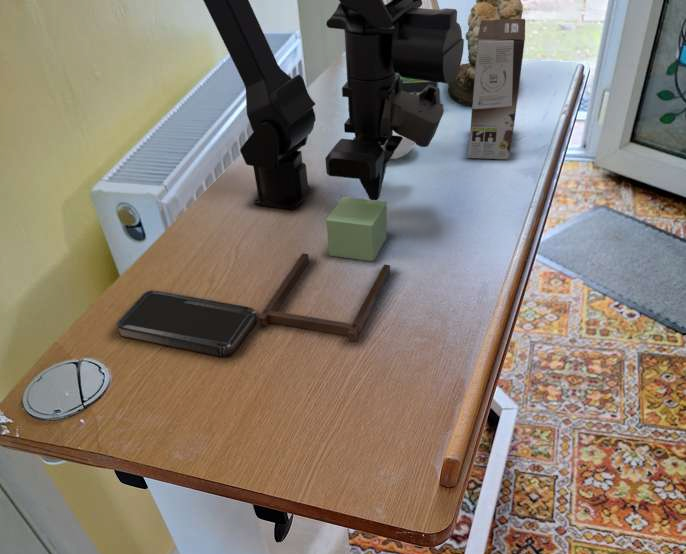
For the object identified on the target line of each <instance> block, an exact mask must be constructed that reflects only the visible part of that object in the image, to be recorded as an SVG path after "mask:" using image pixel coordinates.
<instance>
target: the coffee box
mask: <svg viewBox="0 0 686 554" xmlns="http://www.w3.org/2000/svg"><path fill="white" fill-rule="evenodd" d="M525 41H526V18H521V19H498V20H481V23H480V28H479V34H478V41H477V53H476V64H475V77H474V90H473V103H472V106H471V116H470V117H471V119H470V130H469V143H468V155H467V157H468V159H486V160H509V159H510V154H511V148H512V142H513V136H514V135H513V134H514V127H515V121H516V115H517V114H516V113H517V107H518V98H519V91H520V81H521V74H522V66H523V59H524V58H523V57H524V49H525Z"/></svg>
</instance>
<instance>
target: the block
mask: <svg viewBox="0 0 686 554" xmlns="http://www.w3.org/2000/svg"><path fill="white" fill-rule="evenodd" d="M387 204H388V203H387V201H386V200H371V199H366V198H357V197H347V196H341V198H340V199H339V201H337V203H336V205H335V206H334V208H333V210H332V211H331V213H330V214H329V215H328V217H326V221H325V222H326V231H327V242H328V253H329V254H328V255H329V256H331V257H337V258H345V259H353V260H360V261H366V262H367V261H368V262H374V261H375V259H376V258H377V256H378V254H379V253H380V250H382V248H383V245H384V243H385V241H386V240H387V238H388V213H387V212H388V211H387V209H388V207H387V206H388V205H387Z"/></svg>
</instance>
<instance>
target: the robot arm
mask: <svg viewBox="0 0 686 554" xmlns="http://www.w3.org/2000/svg"><path fill="white" fill-rule="evenodd" d="M202 1H203V4H204V5H205V7H206V9H207V11H208V13H209V15H210V18H211V19H212V22H213V24H214V25H215V27H216V30H217V31H218V34H219V35H220V37H221V39H222V42H223V43H224V46H225V48H226V50H227V52H228V54H229V56H230V58H231V60H232V62H233V65H234V66H235V68H236V71H237V72H238V74H239V77H240V78H241V81H242V83H243V85H244V88H245V103H246V104H245V105H246V106H245V107H246V116H247V119H248V122H249V124H250V127H251V131H252V133H251V135H249V137H248V138H247V139H246V140H245V142H244V144H243V145H242V146H241V147H240V149H239V151H240V154H241V156H242V158H243V161H244V163H245V164H246V166H251V167H252V168H253V174H254V178H255V179H254V180H255V185H256V191H257V196H256V197H255V198H254V199H253V205H254V206H261V207H270V208H278V209H279V208H280V209H286V210H295V209H296V208H298V206H299V204H300V203H301V202H302V200H303V199H304V198H305V197H306V195H307V194H308V193H309V192H310V190H311V186H310V184H309V181H308V172H307V171H308V170H307V165H306V162H303V155H302V151H301V150H300V149H301V148H302V147H304V146H306V145H307V142H308V137H309V136H310V135H311V133H312V132H313V130H314V127H315V123H316V120H317V119H316V113H315V110H314V107H315V106H316V102H315V101H314V100H313V98H312V97H311V95H310V94H309V92H308V89H307V87H306V84H305V83H306V82H305V80H304V78H303V76H302V75H301V74H299V73H298V74H297V75H296V76H294V77H291V76H290V75H289V74H287V73H286V72H285V71H284V70H283V69H281V67H280V65H279V64H278V61H277V60H276V57H275V55H274V53H273V51H272V49H271V46H270V44H269V41H268V39H267V38H266V35H265V34H264V31H263V29H262V27H261V24H260V23H259V20H258V18H257V16H256V13H255V11H254V9H253V7H252V5H251V3H250V1H249V0H202ZM338 2H339V3H338V5H337V7H336V8H335V11H334V13H332V15H331V16H330V17H329V18H328V19H327V20H326V23H325V24H326V27H327V28H328V29H334V30H335V29H336V30H343V31H344V48H345V65H346V82H345V83H344V84H343V86H342V87H341V95H342V98H347V102H348V103H347V105H348V118H347V120H345V122H343V127H344V128H343V129H344V130H343V131H344V133H346V134H347V133H348V134H354V137H353V138H350V139H349V138H340V139H339V140H338V142H337V143H335V145H334V146H333V147H332V149H331V150H330V151H329V152H328V154H327V155H326V157H325V158H324V161H325V169H326V170H325V171H326V174H327V175H328V176H329V177H337V178H344V179H345V178H346V179H356V180H359V182H360V184H361V186H362V188H363V190H364V191H365V193H366V194H367V196H368V199H369V200H376V201H379V199H380V196H381V192H382V188H383V183H384V179H385V175H386V170H387V166H388V163H389V162H390V160H391V159H390V158H391V157H392V155H393V154H394V150H395V149H396V148H397V147H398V146H399V144H400V142H401V141H402V139H403V137H405V138H407V139H409V140H412V141H414V142H415V145H416V146H419V147H421V148H428V147H429V146H430V144H431V142H432V140H433V138H434V137H435V135H436V132H437V130H438V127H439V125H440V122H441V120H442V117H443V115H444V113H445V110H444V106H445V105H444V104H442V103H441V95H440V94H441V93H440V89H439V88H438V87H437V88H436V87H434V86H432V85H428V86H427V87H426V88H424V89H423V90H422V91H421V92H420V93H419V95H418V96H417V95H416V94H417V92H415V91H414V92H413V93H412V94H410V93H408V92H405V91H403V80H402V79H400V76H401V77H403V78H409V79H416V80H424V81H431V82H438V84H439V83H440V84H445V85H447V84H450V83H452V82H453V81H454V79H455V78H456V75H457V73H458V71H459V68H460V65H462V60H463V56H464V55H463V54H464V45H465V44H464V43H465V39H464V38H463V33H462V32H463V31H462V27H461V25H460V23H459V22H458V11H457V9H456V8H441V9H440V10H434V9H423V8H419V7H421V5H422V0H392V1H391V2H389V3H388V4H386V5H385V4H384V2H383V1H382V0H338ZM396 73H399V75H396ZM393 130H394V132H395V133H397V134H399V135H401V136H403V137H401V136H394V135H393Z"/></svg>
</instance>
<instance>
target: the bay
mask: <svg viewBox="0 0 686 554" xmlns="http://www.w3.org/2000/svg"><path fill="white" fill-rule="evenodd" d="M309 259H310V258H309V254H308V253H305V252H304V253H301V255H300V256H299V258H298V259H297V261H296V262H295V264H294V265H293V266H292V268H291V269H290V270H289V272H288V274H287V276H286V277H285V278H284V280H283V281H282V283H280V286H279V287H278V288H277V290H276V291H275V293H273V296H272V297H271V299H270V300H269V302H268V303H267V304H266V306H265V308H264V309H263V310H262V312H261V313H260V315H259V316H258V322H259V325H260V327H267V326H268V325H269V323H270V324H277V325H280V326H281V325H283V326H287V327H294V328H300V329H304V330H312V331H317V332H324V333H330V334H334V335H339V336H340V335H341V336H347V340H348V341H349V342H356V341H357V339H358V336H359V335H360V332H361V331H362V329H363V326H364V325H365V323H366V321H367V319H368V318H369V315H370V313H371V311H372V309H373V307H374V306H375V304H376V302H377V300H378V298H379V295H380V293H381V292H382V290H383V288H384V286H385V284H386V283H387V280H388V278H389V276H390V274H391V265H390V264H383V265H382V268H381V269H380V271H379V272H378V275H377V277H376V279H375V281H374V282H373V285H372V286H371V288H370V289H369V292H368V294H367V296H366V298H365V299H364V301H363V302H362V305H361V307H360V308H359V311H358V312H357V314H356V316H355V318H354V320H353V322H352V323H350V322H343V321H338V320H337V321H336V320H331V319H326V318H325V319H324V318H320V317H319V318H318V317H312V316H306V315H301V314H300V315H299V314H293V313H288V312H282V311H278V310H279V308H280V307H281V305H282V303H283V302H284V300H285V299H286V297H287V296H288V295H289V293H290V291H291V290H292V288H293V287H294V285H295V284H296V282H297V281H298V280H299V278H300V277H301V275H302V273H303V272H304V270H305V268H306V267H307V266H308V264H309V263H310V260H309Z"/></svg>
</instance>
